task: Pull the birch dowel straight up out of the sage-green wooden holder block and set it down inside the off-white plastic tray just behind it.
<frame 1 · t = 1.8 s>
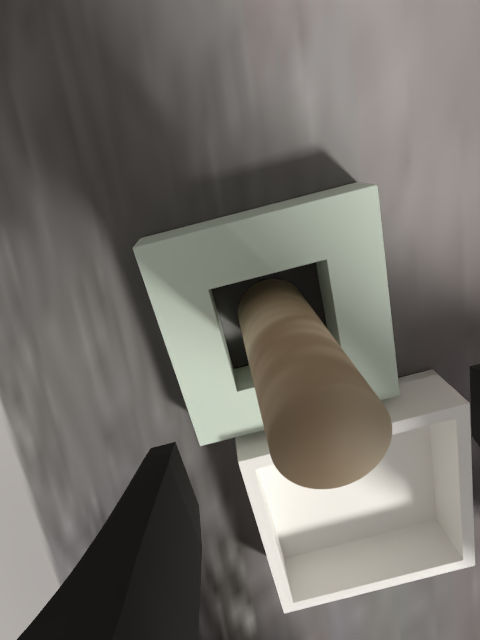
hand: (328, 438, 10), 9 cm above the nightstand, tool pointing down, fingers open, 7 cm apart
tray: (346, 473, 22), on the nightstand
dowel: (292, 356, 14), in the holder
holder: (271, 311, 18), on the nightstand
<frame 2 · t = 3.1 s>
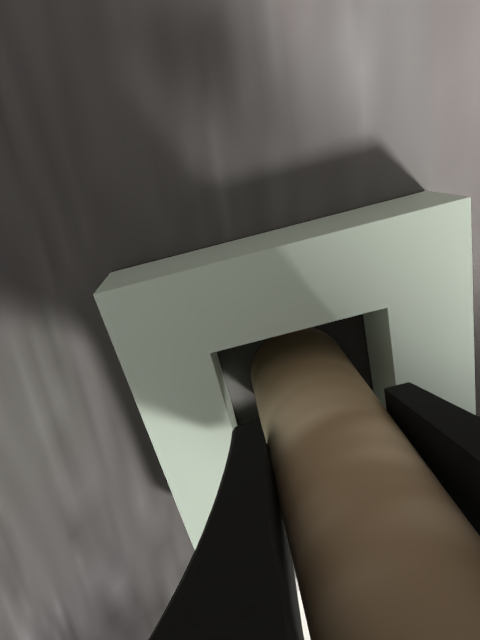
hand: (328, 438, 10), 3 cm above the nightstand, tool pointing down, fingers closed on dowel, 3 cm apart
dowel: (343, 469, 9), in the holder, touching gripper
holder: (297, 370, 13), on the nightstand
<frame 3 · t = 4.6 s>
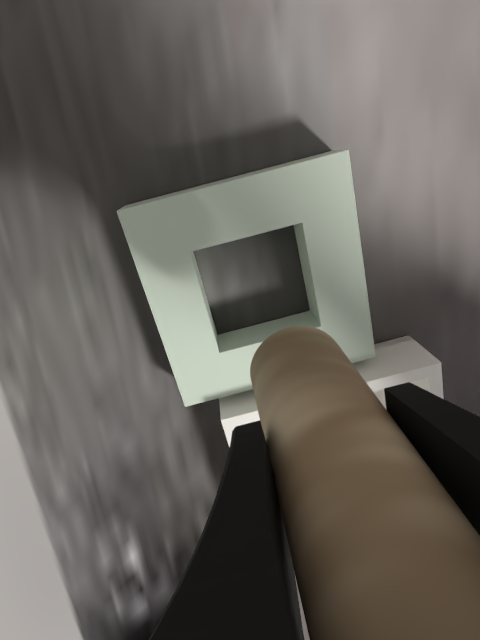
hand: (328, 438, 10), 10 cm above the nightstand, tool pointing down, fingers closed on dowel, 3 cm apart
tray: (328, 438, 23), on the nightstand
dowel: (342, 468, 9), point 11 cm above the nightstand, touching gripper
holder: (252, 278, 19), on the nightstand
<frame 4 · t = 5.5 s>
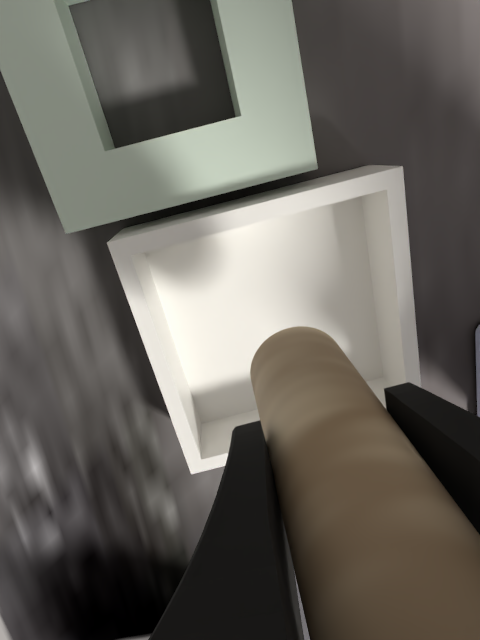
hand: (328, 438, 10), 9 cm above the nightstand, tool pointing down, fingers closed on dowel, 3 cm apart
tray: (271, 311, 18), on the nightstand
dowel: (342, 469, 9), point 10 cm above the nightstand, touching gripper
holder: (157, 66, 14), on the nightstand
when the fingers open (5 cm above the nightstand, at t = 6.4 s): dowel drops 1 cm, resting on tray.
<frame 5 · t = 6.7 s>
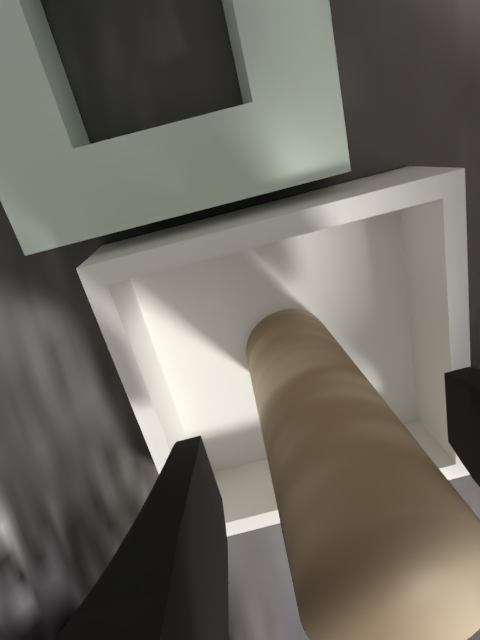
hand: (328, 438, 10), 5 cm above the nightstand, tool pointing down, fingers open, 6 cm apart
tray: (285, 344, 15), on the nightstand
dowel: (322, 421, 10), in the tray
holder: (143, 39, 11), on the nightstand
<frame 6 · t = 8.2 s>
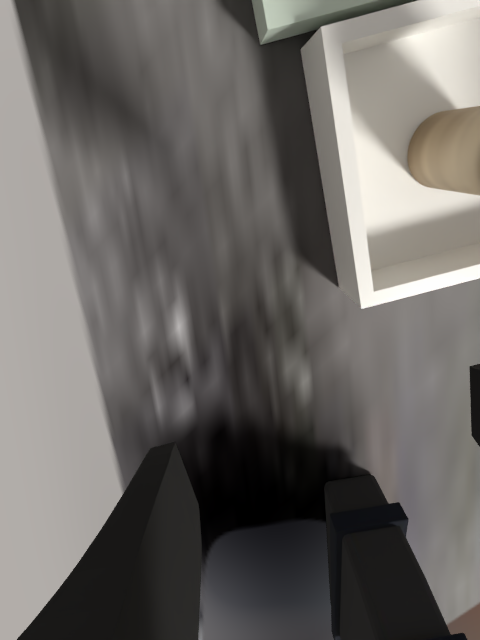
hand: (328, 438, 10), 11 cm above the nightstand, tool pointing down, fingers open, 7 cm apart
tray: (433, 151, 18), on the nightstand
magazine: (349, 551, 27), on the nightstand
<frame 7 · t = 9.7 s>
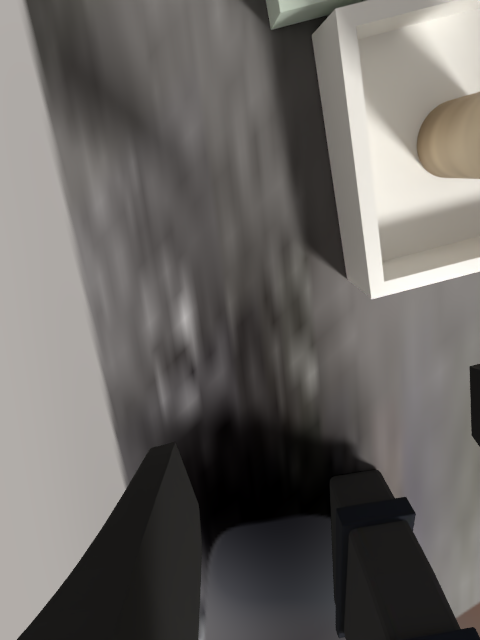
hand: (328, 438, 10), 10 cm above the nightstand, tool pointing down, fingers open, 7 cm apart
tray: (444, 140, 18), on the nightstand
magazine: (353, 547, 26), on the nightstand
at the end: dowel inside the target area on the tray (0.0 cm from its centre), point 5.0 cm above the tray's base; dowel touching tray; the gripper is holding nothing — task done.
